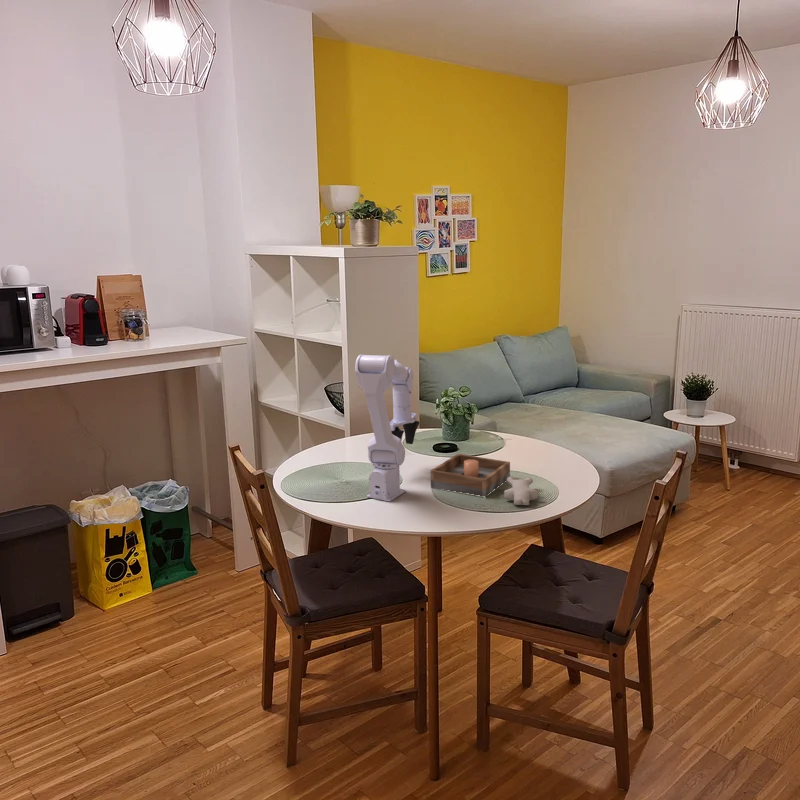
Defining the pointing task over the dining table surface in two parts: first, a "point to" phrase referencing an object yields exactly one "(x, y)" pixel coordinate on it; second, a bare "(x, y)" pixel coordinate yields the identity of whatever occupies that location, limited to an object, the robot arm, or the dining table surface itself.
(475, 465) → the peg
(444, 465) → the tray
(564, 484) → the dining table surface
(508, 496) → the white soft plush figure
